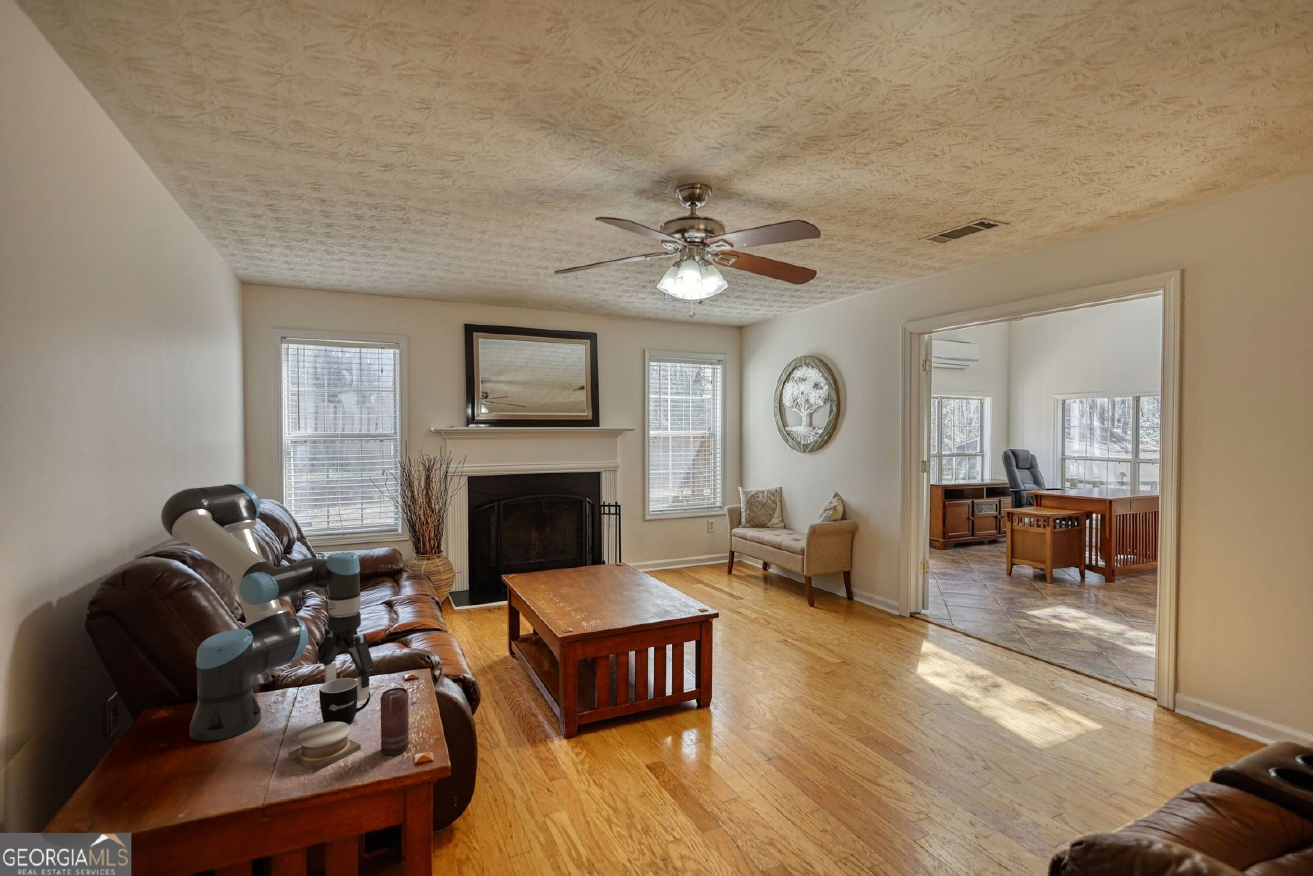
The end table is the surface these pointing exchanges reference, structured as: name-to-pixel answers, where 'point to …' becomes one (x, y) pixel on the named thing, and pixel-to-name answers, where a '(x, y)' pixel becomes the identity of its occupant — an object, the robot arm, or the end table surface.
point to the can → (394, 721)
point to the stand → (324, 745)
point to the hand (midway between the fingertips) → (346, 694)
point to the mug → (340, 700)
